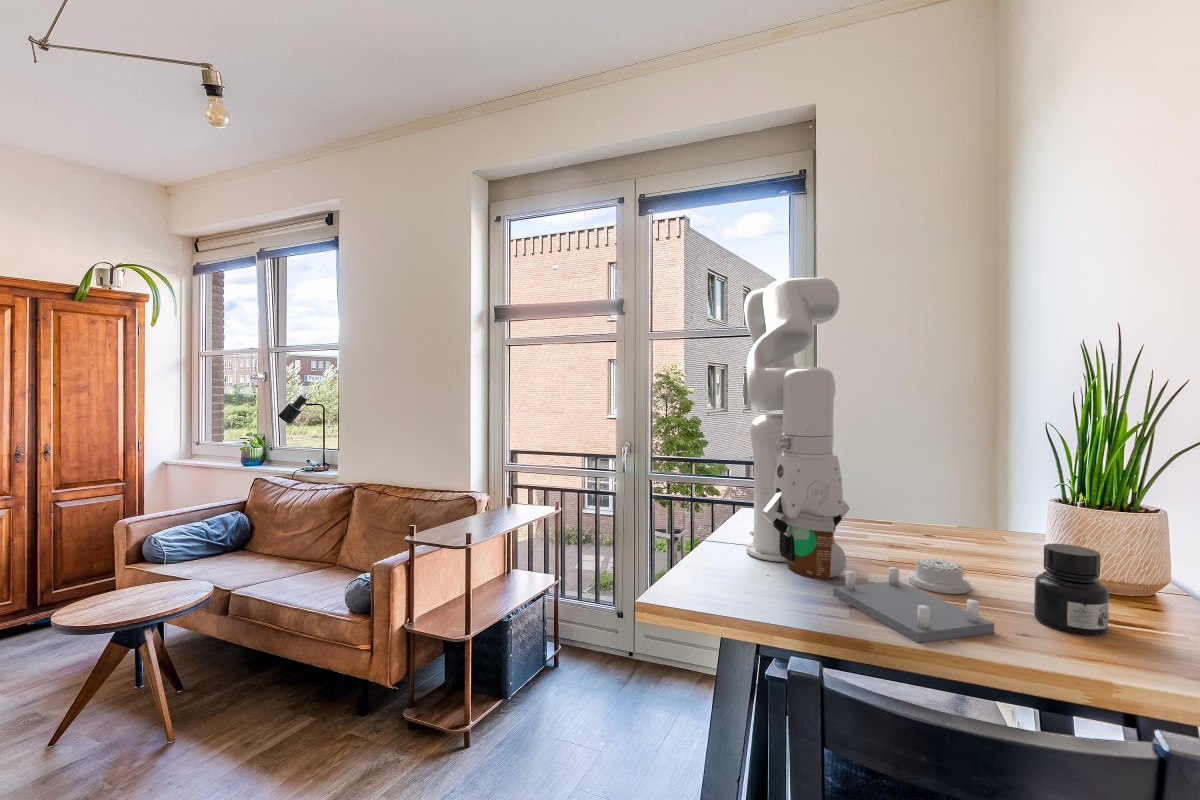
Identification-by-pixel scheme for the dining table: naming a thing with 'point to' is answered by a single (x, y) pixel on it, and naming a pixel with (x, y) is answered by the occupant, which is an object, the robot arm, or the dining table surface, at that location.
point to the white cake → (939, 576)
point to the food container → (811, 546)
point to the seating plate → (913, 609)
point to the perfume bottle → (837, 559)
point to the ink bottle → (1071, 591)
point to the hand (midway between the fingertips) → (805, 555)
